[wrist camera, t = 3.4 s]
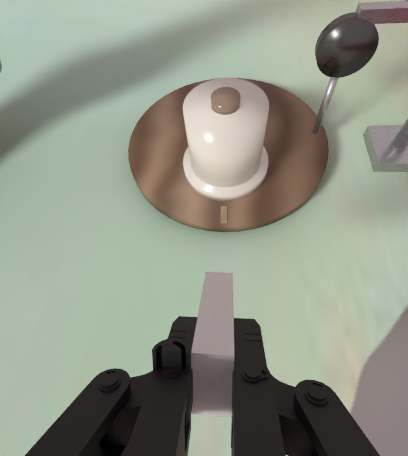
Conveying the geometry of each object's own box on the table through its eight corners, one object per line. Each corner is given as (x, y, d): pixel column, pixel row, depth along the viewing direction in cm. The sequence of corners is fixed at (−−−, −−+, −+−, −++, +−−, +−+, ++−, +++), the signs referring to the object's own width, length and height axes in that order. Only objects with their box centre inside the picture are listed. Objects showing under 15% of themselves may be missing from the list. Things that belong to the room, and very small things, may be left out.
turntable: (114, 229, 37) (109, 223, 35) (146, 88, 50) (144, 79, 49) (340, 234, 35) (345, 227, 33) (311, 85, 48) (314, 75, 46)
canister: (180, 200, 36) (165, 136, 27) (187, 137, 42) (177, 65, 32) (269, 201, 36) (285, 135, 26) (264, 137, 41) (277, 62, 31)
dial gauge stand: (290, 171, 41) (338, 15, 24) (286, 135, 44) (325, -24, 27) (427, 171, 39) (583, 5, 22) (412, 134, 43) (538, -35, 26)
